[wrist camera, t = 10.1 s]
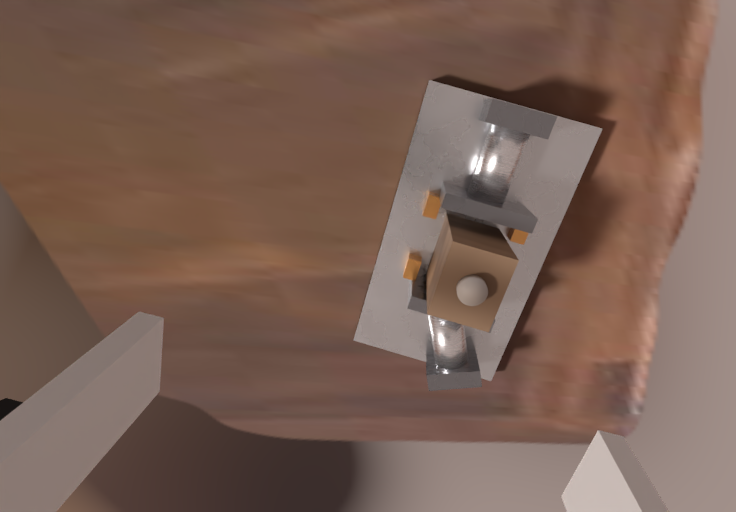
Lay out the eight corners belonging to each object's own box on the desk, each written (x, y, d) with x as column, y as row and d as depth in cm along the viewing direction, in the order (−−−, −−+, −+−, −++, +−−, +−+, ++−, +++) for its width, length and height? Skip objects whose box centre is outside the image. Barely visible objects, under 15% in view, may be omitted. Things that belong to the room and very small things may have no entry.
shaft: (418, 303, 34) (418, 323, 31) (469, 298, 34) (474, 317, 31) (428, 367, 36) (428, 390, 33) (476, 363, 36) (481, 386, 33)
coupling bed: (429, 80, 30) (430, 76, 25) (597, 127, 30) (631, 132, 25) (355, 334, 37) (345, 368, 32) (489, 374, 37) (499, 415, 32)
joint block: (446, 213, 32) (453, 244, 25) (499, 228, 32) (521, 264, 25) (426, 273, 34) (427, 318, 26) (475, 287, 33) (490, 337, 26)
